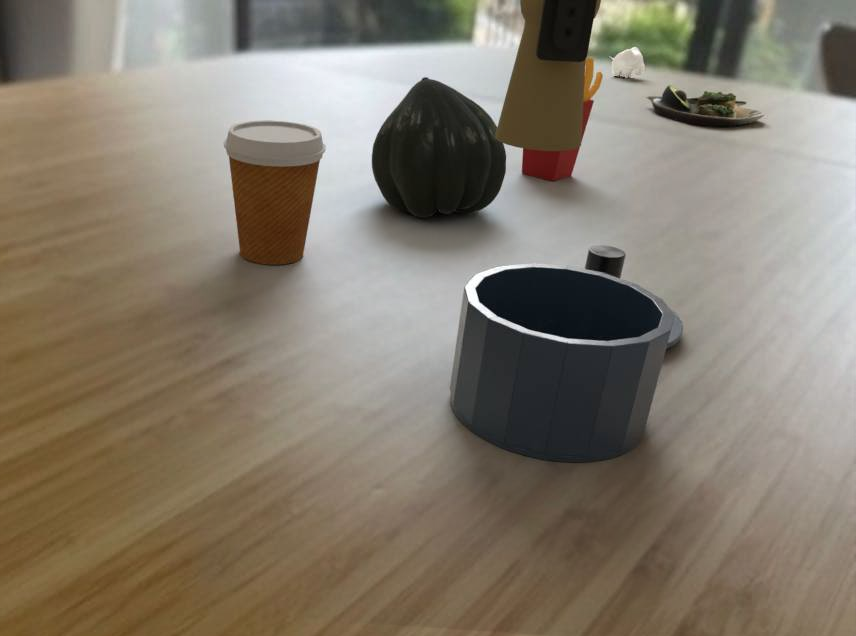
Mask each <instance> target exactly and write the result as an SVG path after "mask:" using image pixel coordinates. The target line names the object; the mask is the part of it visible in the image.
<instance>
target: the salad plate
mask: <svg viewBox="0 0 856 636" xmlns="http://www.w3.org/2000/svg"><path fill="white" fill-rule="evenodd" d="M661 95H662V96H655V95H654V96H653V95H652V96H647V97H645V98H646V99H648V100H649V101H650V102H651V105H652V107H653V109H654V112H655V114H657V115H659V116H662V117H665V118H668V117H669V119H671V118H672V120H674V119H676V120H675V121H677V120H679V121H678V122H681V121H683V122H682V123H685V122H687V123H686V124H690V123H691V124H690V125H695V124H697V125H696V126H701V125H704V126H703V127H709V126H714V127H713V128H724V127H723V126H728V127H737V126H736V125H739V126H743V124H745V125H748V124H747V123H749V124H753V123H755V122H756V121H759V120H760V119H762V118H763V117H764V112H762V111H761V110H758V109H752V108H746V107H742V106H745V105H747V101H744V100H737V95H735V94H734V93H733V92H728V93H723V92H722V91H718V92H715V91H714V92H713V91H712V92H711V91H707V90H705V91H704V92H703V94H702V95H701V96H699V97H696V96H689V97H687V93H686V92H685V91H684V90H679V89H677V88H675V87H674V86H672V85H671V84H669V85H667V86H666V87H665V89H664V91H663V93H662V94H661ZM752 122H753V123H752ZM716 126H717V127H716Z"/></svg>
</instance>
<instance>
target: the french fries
mask: <svg viewBox="0 0 856 636" xmlns="http://www.w3.org/2000/svg"><path fill="white" fill-rule="evenodd" d="M594 61H595V60H594V58H593V57H588V56H587V58H586V62H585V81H584V101H583V120H582V139H581V143H582V142H583V139H584V135H585V132H586V130H587V129H586V128H587V125H588V122H589V119H590V116H591V112H592V109H593V105H594V103H595V102H594V101H595V100H594V99H592V98H593V97H594V96H595V95H596V93H597V92H598V90H599V89H600V87H601V83H602V81H603V73H602V72H601V71H598V72H596V75H595V78H594V81H593V77H594V65H595V63H594ZM592 82H593V85H592ZM580 149H581V146H580V147H579V148H577V149H573V150H566V151H541V150H531V149H525V148H522V159H521V160H522V161H521V174H523V175H526V176H531V177H535V178H539V179H541V180H546V181H550V182H556V181H559V180H562V179H565V178H569V177H571V176H572V175H573V172H574V168H575V165H576V162H577V159H578V155H579V152H580Z"/></svg>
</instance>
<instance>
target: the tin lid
mask: <svg viewBox="0 0 856 636" xmlns="http://www.w3.org/2000/svg"><path fill="white" fill-rule="evenodd" d="M625 259H626V252H625V251H624V250H623V249H620V248H618V247H615V246H610V245H603V244H602V245H601V244H598V245H592V246H590V247H589V248H588V250H587V255H586V261H585V265H584V269H587V270H592V271H597V272H602V273H606V274H608V275H611V276H614V277H617V278H620V279H621V278H622V273H623V268H624V264H625ZM670 310H671V311H672V312H673V314H674V315H675V318H674V322H673V326H672V330H671V333H670V337H669V341H668V344H667V348H666V350H667V349H670V348H671V347H673V346H675V345H676V344H677V343H678V342H679V341H680V340H681V338H682V335H683V332H684V325H683V321H682V320H681V318H680V316H679V315H678V314H677V313H676V312H674V311H673V310H672V309H671V308H670Z"/></svg>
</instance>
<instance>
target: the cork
mask: <svg viewBox="0 0 856 636" xmlns="http://www.w3.org/2000/svg"><path fill="white" fill-rule="evenodd" d="M543 2H544V0H519V4H520V13H521V15H522V18H523V19H524V24H525V26H523V30H522V34H521V39H520V42H519V46H518V48H517V52H516V56H515V60H514V63H513V67H512V71H511V74H510V79H509V82H508V86H507V89H506V92H505V93H506V94H505V97H504V100H503V104H502V108H501V112H500V116H499V119H498V123H497V130H496V134H495V138H496V139H497V140H498V141H499V142H502V143H503V144H504V145H507V146H511V147H514V148H519V149H523V148H525V149H531V150H541V151H566V150H573V149H577V148H579V147H580V148H581V147H582V142H581V139H582V120H583V101H584V81H585V69H586V64H585V62H586V59H587V58H586V59H585V60H584V61H583V62H569V61H550V60H540V59H539V58H538V57H537V56H536V48H537V41H538V35H539V28H540V22H541V15H542V9H543ZM601 3H602V0H597V4H596V9H595V15H594V19H596V17H597V14H598V13H599V11H600V8H601ZM582 140H583V139H582Z"/></svg>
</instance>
